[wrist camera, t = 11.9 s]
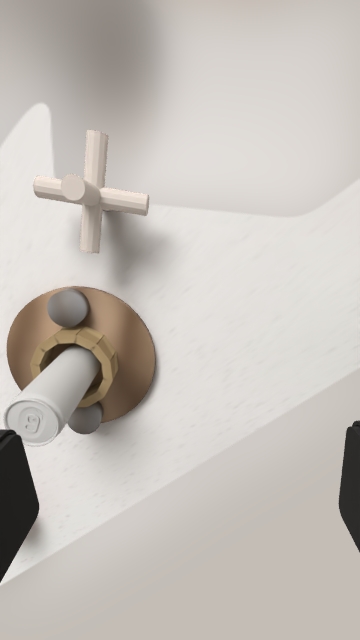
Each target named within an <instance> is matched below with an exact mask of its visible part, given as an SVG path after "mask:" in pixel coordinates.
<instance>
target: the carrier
mask: <svg viewBox="0 0 360 640" xmlns="http://www.w3.org/2000/svg"><path fill="white" fill-rule="evenodd" d="M73 345H81V346H83V347H85V348H87V349H89V350H91V351H92V352H93V353H94V355H95V356H96V357H97V359H98V360H99V361H100V369H99V372H98V373H97V375H96V376H95V378H94V379H93V381H92V383H91V384H90V386H89V388H88V389H87V391H86V392H85V394H84V396H83V397H82V399H81V401H80V402H79V404H78V406H77V407H76V409H75V410H74V412H73V413H72V415H71V417H70V418H69V420H68V421H67V423H68V425H69V427H70V428H71V429H72V430H73V431H75V432H77V433H80V434H90V433H92V432H94V431H95V430H96V429H97V428H98V426H99V424H100V423H103V422H108V421H111V420H114V419H117V418H119V417H121V416H123V415H125V414H126V413H128V412H129V411H131V410H132V409H133V408H134V407H135V406H137V405H138V403H139V402H140V401H141V400H142V399H143V397H144V396H145V394H146V393H147V391H148V389H149V387H150V384H151V381H152V378H153V374H154V368H155V350H154V345H153V341H152V338H151V335H150V333H149V331H148V329H147V327H146V325H145V324H144V322H143V320H142V319H141V318H140V317H139V315H138V314H137V313H136V312H135V311H134V310H133V309H132V308H131V307H130V306H129V305H127V304H126V303H125V302H123V301H122V300H120V299H119V298H117V297H115V296H114V295H112V294H109V293H107V292H105V291H102V290H98V289H95V288H89V287H77V286H73V287H64V288H59V289H55V290H53V291H50V292H48V293H45V294H43V295H40V296H39V297H37V298H35V299H34V300H32V301H31V302H30V303H28V304H27V305H26V306H25V307H24V308H23V309H22V310H21V311H20V312H19V314H18V315H17V317H16V318H15V320H14V321H13V324H12V326H11V328H10V331H9V335H8V340H7V358H8V364H9V367H10V371H11V373H12V375H13V378H14V380H15V382H16V383H17V385H18V387H19V388H20V390H21V391H23V390H24V389H25V388H26V387H27V386H28V385H29V384H30V383H31V382H32V381H33V380H34V379H35V378H36V377H37V376H38V375H39V374H40V373H41V372H42V371H43V370H44V369H46V368H47V367H48V366H49V365H50V364H51V363H52V362H53V361H54V360H55V359H56V358H57V357H58V356H59V355H60V354H61V353H62V352H63V351H64V350H65V349H67V348H68V347H70V346H73Z"/></svg>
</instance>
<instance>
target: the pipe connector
mask: <svg viewBox="0 0 360 640" xmlns="http://www.w3.org/2000/svg"><path fill="white" fill-rule="evenodd" d="M107 145H108V135H106V134H104V133H102V132H99V131H95V130H88V131H87V138H86V154H85V170H84V171H85V172H84V179H83V178H81V177H79V176H77V175H74V174H69V175H66V176H65V177H64V178H63V179H62V180H60V179H55V178H49V177H43V176H36V177H35V179H34V183H33V188H34V192H35V195H36V196H37V197H39V198H45V199H51V200H57V201H63V202H68V203H74V204H80V205H82V220H81V236H80V251H83V252H89V253H99V246H100V234H101V221H102V210H105V211H110V210H115V211H121V212H127V213H133V214H138V215H144V216H146V215H147V213H148V207H149V195H146V194H141V193H135V192H129V191H123V190H117V189H112V188H106V187H104V184H105V171H106V159H107Z"/></svg>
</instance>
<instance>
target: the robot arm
mask: <svg viewBox="0 0 360 640" xmlns="http://www.w3.org/2000/svg"><path fill="white" fill-rule="evenodd" d="M341 477H342V478H341V486H340V495H339V509H340V513H341V516H342V518H343V521H344V523H345V524H346V526H347V528H348V530H349V532H350V534H351V536H352V538H353V540H354V542H355V544H356V546H357V548H358V550H359V552H360V421H355V422H354V423H353V425H352V427H348V428H347V432H346V440H345V449H344V459H343V467H342V476H341ZM38 512H39V502H38V498H37V494H36V490H35V487H34V483H33V479H32V476H31V472H30V468H29V464H28V461H27V457H26V453H25V449H24V446H23V442H22V438H21V436H20V435H17V433H16V432H15V431H14V430H12V429H8V430H0V582H1V580H2V579H3V577H4V575H5V573H6V572H7V570H8V568H9V566H10V564H11V563H12V561H13V559H14V557H15V556H16V554H17V552H18V550H19V548H20V547H21V545H22V543H23V541H24V540H25V538H26V536H27V534H28V533H29V531H30V529H31V527H32V525H33V524H34V522H35V520H36V518H37V516H38Z"/></svg>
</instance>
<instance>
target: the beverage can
mask: <svg viewBox="0 0 360 640" xmlns="http://www.w3.org/2000/svg"><path fill="white" fill-rule="evenodd" d="M99 369H100V361H99V360H98V359H97V357H96V356H95V355H94V353H93V352H92V351H91V350H89V349H87V348H85V347H83V346H81V345H73V346H70V347H68V348H67V349H65V350H64V351H63V352H62V353H61V354H60V355H59V356H58V357H57V358H56V359H55V360H54V361H53V362H52V363H51V364H50V365H49V366H48V367H47V368H46V369H44V370H43V371H42V372H41V373H40V374H39V375H38V376H37V377H36V378H35V379H34V380H33V381H32V382H31V383H30V384H29V385H28V386H27V387H26V388H25V389H24V390H23V391H21V392H20V393H19V394H18V395H17V396H16V397H15V398H14V399H13V401H12V402H11V403H10V405H9V407H8V408H7V409H6V411H5V413H4V425H5V428H6V430H8V429H12V430H14V431H15V432H16V433H17V435H20V436H21V438H22V442H23V444H24V445H28V446H42V445H46V444H48V443H50V442H51V441H52V440H53V439H54V438H55V437H56V436H57V435H58V434H59V433H60V432H61V431H62V429H63V428H64V426H65V424H66V423H67V421H68V420H69V418H70V417H71V415H72V413H73V412H74V410H75V409H76V407H77V406H78V404H79V402H80V401H81V399H82V397H83V396H84V394H85V392H86V391H87V389H88V388H89V386H90V384H91V383H92V381H93V379H94V378H95V376H96V375H97V373H98V372H99Z"/></svg>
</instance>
